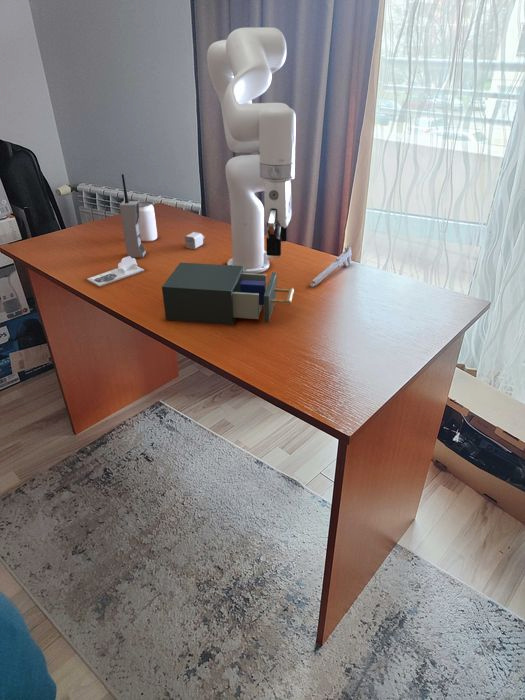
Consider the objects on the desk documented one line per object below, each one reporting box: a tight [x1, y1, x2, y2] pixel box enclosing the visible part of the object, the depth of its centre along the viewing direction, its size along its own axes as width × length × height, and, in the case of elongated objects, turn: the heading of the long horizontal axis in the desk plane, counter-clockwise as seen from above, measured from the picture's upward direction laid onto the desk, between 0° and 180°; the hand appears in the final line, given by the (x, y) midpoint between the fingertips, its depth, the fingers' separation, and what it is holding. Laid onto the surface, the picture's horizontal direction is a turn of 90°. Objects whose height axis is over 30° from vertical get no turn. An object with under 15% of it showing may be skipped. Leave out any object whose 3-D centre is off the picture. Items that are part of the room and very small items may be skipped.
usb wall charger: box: [184, 231, 206, 250], centre depth 164 cm, size 4×7×4 cm, turn 150°
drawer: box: [232, 272, 295, 324], centre depth 123 cm, size 20×14×7 cm, turn 81°
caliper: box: [309, 245, 353, 288], centre depth 142 cm, size 20×1×6 cm, turn 141°
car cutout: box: [86, 255, 145, 288], centre depth 144 cm, size 15×7×4 cm, turn 137°
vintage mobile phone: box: [118, 173, 147, 259], centre depth 151 cm, size 4×5×25 cm
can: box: [138, 200, 158, 243], centre depth 167 cm, size 6×6×12 cm
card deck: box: [240, 280, 267, 306], centre depth 124 cm, size 6×2×5 cm, turn 81°
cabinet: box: [161, 262, 244, 326], centre depth 125 cm, size 17×15×9 cm
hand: (276, 247), depth 116 cm, fingers open, 9 cm apart
